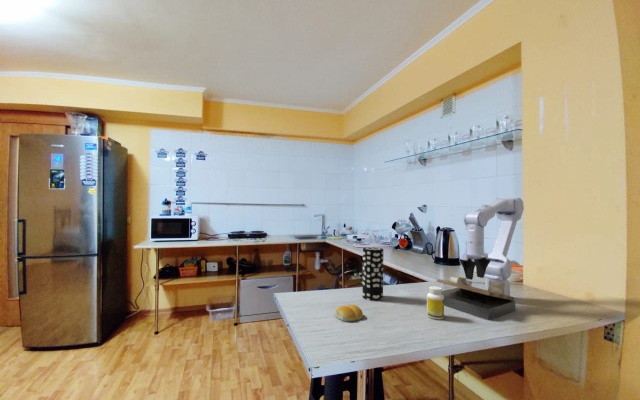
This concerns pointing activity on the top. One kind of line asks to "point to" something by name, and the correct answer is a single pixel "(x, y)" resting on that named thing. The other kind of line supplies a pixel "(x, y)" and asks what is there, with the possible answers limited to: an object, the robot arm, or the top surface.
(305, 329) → the top surface
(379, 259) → the spotted tube
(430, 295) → the supplement bottle
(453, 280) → the plate
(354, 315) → the bread roll
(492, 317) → the base
